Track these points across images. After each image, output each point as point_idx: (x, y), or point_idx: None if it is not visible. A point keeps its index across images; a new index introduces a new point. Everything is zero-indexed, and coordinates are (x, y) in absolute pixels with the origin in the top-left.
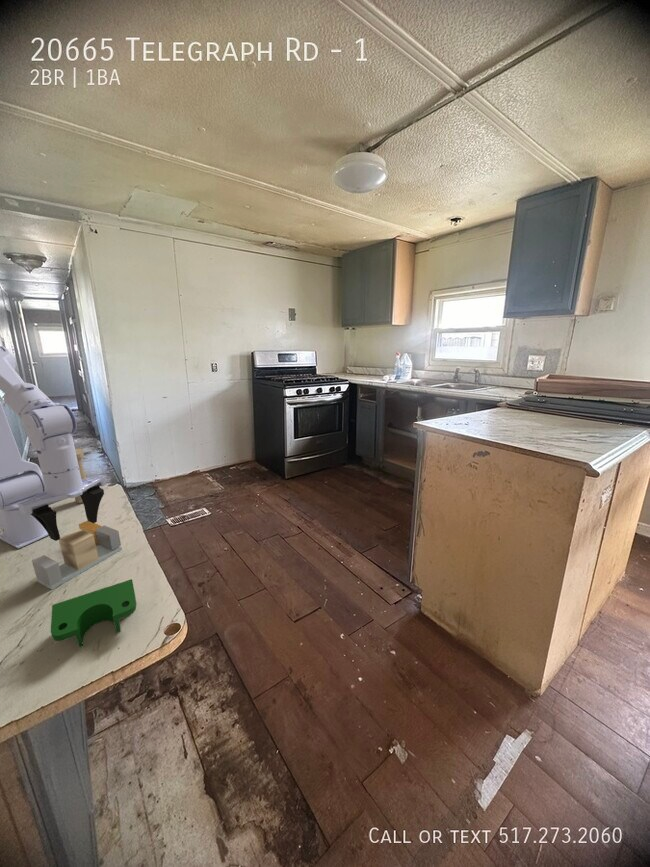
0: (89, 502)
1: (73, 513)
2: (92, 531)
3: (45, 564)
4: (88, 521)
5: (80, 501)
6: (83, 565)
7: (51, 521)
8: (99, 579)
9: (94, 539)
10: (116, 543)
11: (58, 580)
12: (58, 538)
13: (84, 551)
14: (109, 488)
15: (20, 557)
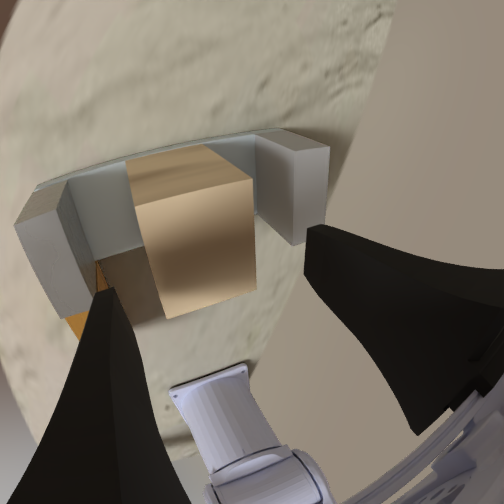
0: (143, 449)
1: None
2: None
3: (319, 175)
4: None
5: None
6: (184, 148)
7: (446, 272)
8: (172, 49)
9: (103, 289)
10: (43, 194)
11: (266, 134)
12: (319, 227)
13: (184, 167)
14: None
15: (254, 332)
